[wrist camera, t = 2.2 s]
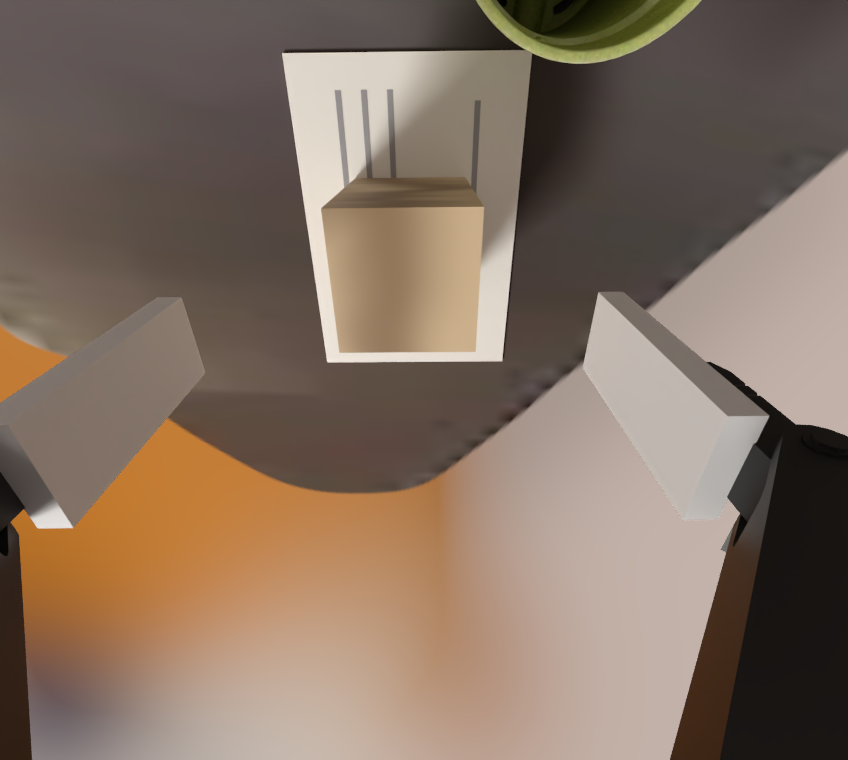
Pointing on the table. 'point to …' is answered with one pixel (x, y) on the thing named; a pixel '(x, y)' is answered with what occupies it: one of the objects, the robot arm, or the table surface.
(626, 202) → the table surface
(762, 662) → the robot arm
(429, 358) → the letter
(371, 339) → the oak block
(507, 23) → the plant pot
